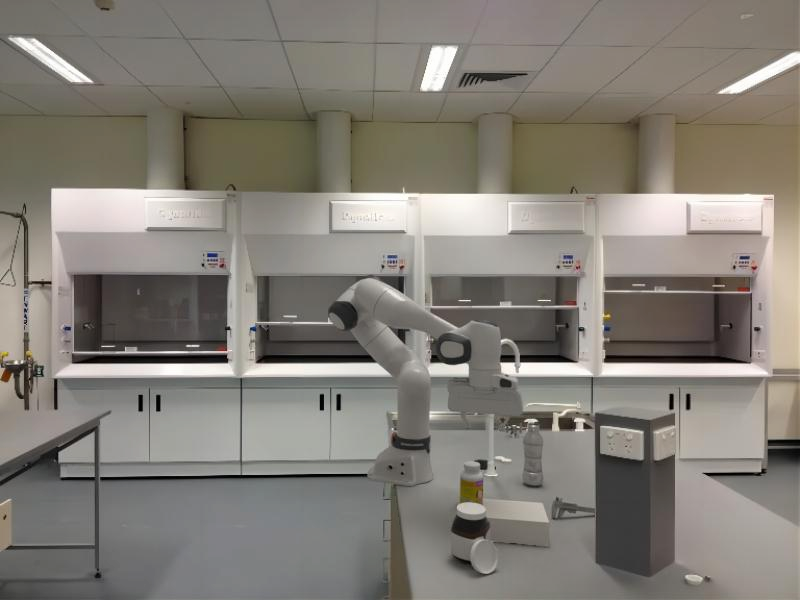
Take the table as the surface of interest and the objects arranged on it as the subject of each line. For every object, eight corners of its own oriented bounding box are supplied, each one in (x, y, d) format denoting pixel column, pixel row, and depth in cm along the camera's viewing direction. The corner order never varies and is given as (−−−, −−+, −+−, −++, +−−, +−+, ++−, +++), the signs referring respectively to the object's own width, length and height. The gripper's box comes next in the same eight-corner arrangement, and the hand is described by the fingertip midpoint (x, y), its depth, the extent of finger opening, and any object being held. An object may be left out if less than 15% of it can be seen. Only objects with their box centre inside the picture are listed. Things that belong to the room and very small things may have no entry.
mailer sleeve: (483, 541, 124) (483, 517, 124) (482, 520, 136) (482, 498, 136) (548, 546, 122) (549, 522, 122) (542, 525, 134) (542, 502, 134)
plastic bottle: (544, 489, 159) (545, 427, 159) (522, 487, 161) (523, 426, 161) (542, 482, 166) (543, 422, 166) (521, 480, 167) (522, 421, 167)
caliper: (553, 520, 137) (553, 497, 137) (551, 518, 138) (551, 496, 138) (619, 515, 141) (619, 493, 141) (617, 514, 142) (617, 492, 142)
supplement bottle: (477, 514, 140) (478, 469, 140) (456, 509, 143) (456, 464, 143) (486, 506, 146) (487, 462, 146) (465, 501, 149) (466, 458, 149)
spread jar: (465, 544, 123) (466, 497, 123) (508, 558, 116) (509, 508, 116) (441, 565, 113) (442, 514, 113) (487, 581, 106) (487, 527, 106)
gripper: (445, 378, 135) (445, 429, 135) (522, 382, 129) (522, 435, 129) (449, 375, 141) (449, 424, 141) (523, 378, 135) (523, 429, 135)
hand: (484, 429), depth 135 cm, fingers open, 8 cm apart
